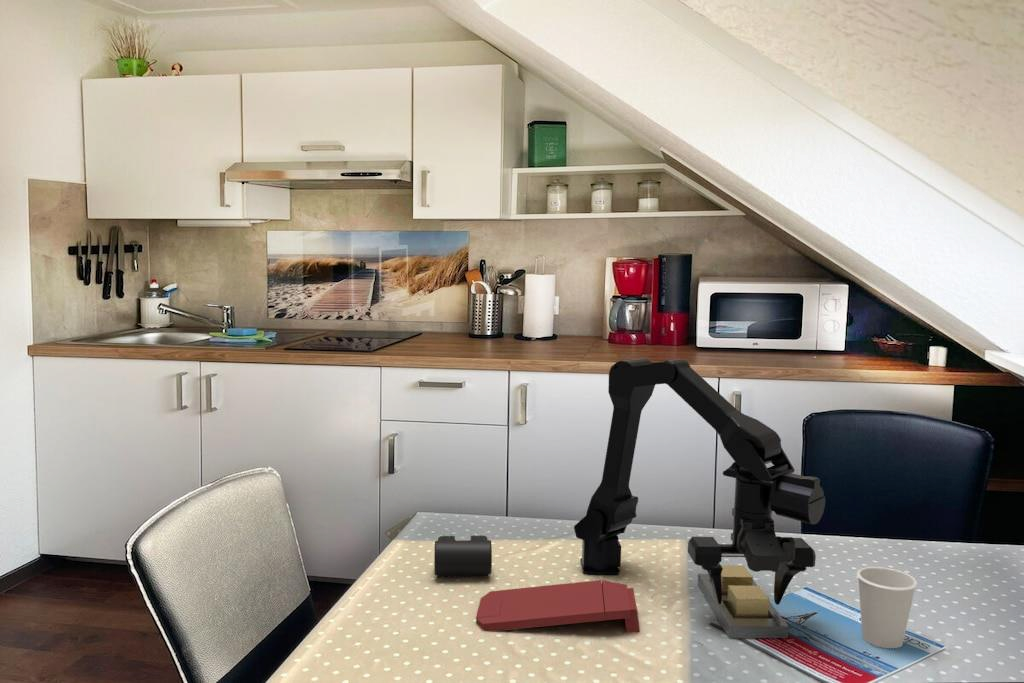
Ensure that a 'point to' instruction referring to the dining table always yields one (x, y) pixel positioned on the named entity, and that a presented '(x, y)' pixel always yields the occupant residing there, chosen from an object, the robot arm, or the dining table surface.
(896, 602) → the dixie cup
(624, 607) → the red ramp
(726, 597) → the grey slotted tray
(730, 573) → the tan block seated
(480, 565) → the end cap
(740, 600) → the wooden cube
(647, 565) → the dining table surface
